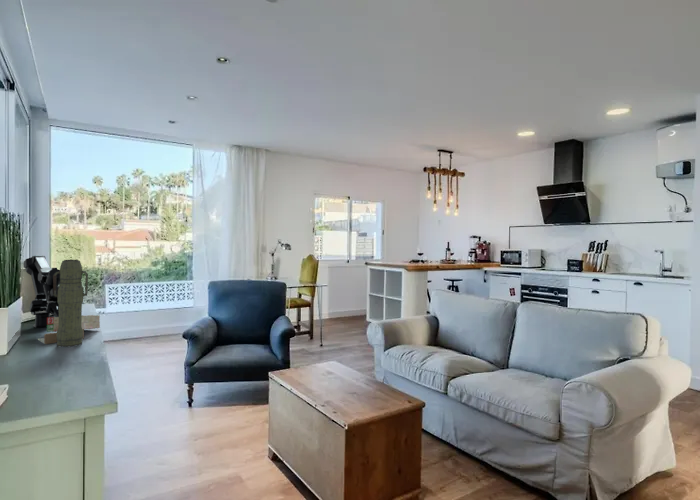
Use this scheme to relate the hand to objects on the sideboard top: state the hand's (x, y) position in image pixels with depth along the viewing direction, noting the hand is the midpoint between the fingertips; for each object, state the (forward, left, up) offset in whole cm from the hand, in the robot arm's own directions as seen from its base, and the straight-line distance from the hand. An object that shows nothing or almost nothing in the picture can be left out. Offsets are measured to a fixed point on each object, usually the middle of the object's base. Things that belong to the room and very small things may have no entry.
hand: (59, 318), depth 186 cm
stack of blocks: (0, +2, -3) cm, 3 cm away
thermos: (+22, -2, -7) cm, 23 cm away
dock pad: (+9, -2, -7) cm, 12 cm away
